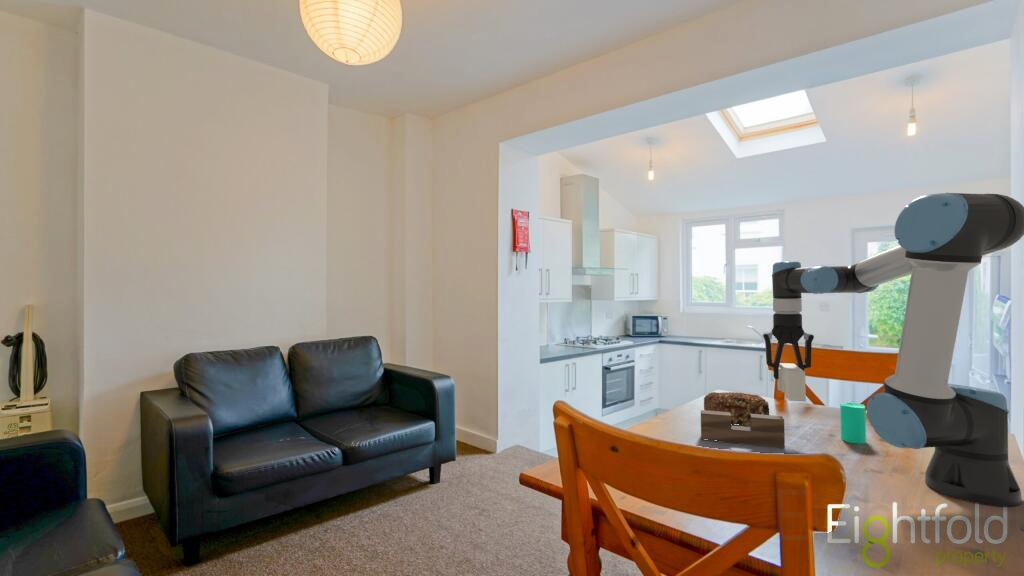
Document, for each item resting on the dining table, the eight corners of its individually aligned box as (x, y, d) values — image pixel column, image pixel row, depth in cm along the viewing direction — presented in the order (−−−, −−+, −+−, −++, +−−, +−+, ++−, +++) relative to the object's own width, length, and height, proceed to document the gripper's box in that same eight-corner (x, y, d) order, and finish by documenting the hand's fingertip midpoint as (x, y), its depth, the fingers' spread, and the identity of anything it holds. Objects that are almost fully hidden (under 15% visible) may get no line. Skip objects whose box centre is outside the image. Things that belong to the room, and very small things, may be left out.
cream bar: (805, 401, 129) (805, 372, 129) (789, 400, 130) (788, 371, 130) (794, 389, 144) (793, 363, 144) (779, 388, 145) (779, 363, 145)
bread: (710, 425, 156) (710, 395, 157) (703, 417, 167) (702, 389, 167) (771, 427, 153) (770, 397, 153) (759, 418, 164) (759, 390, 164)
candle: (857, 437, 142) (857, 397, 142) (870, 443, 136) (870, 402, 136) (836, 437, 142) (835, 397, 142) (848, 443, 136) (848, 402, 136)
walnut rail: (784, 447, 133) (784, 419, 133) (701, 439, 141) (700, 413, 141) (782, 443, 137) (781, 416, 137) (701, 436, 145) (700, 410, 145)
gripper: (817, 312, 142) (818, 389, 142) (754, 312, 148) (755, 386, 148) (823, 313, 135) (825, 394, 135) (757, 313, 141) (758, 391, 141)
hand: (788, 390), depth 142 cm, fingers closed on cream bar, 4 cm apart
